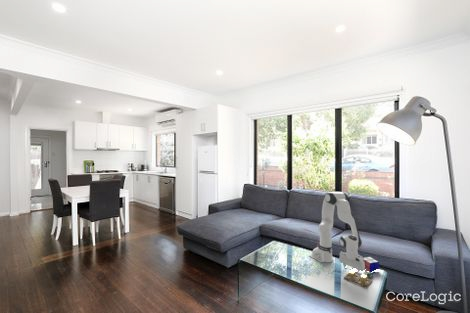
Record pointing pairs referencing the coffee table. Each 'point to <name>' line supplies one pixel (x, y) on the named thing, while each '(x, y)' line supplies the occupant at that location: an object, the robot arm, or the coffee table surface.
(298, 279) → the coffee table surface
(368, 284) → the pallet board
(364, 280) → the billet
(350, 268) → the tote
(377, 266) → the puzzle cube
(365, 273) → the button housing
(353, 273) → the billet
